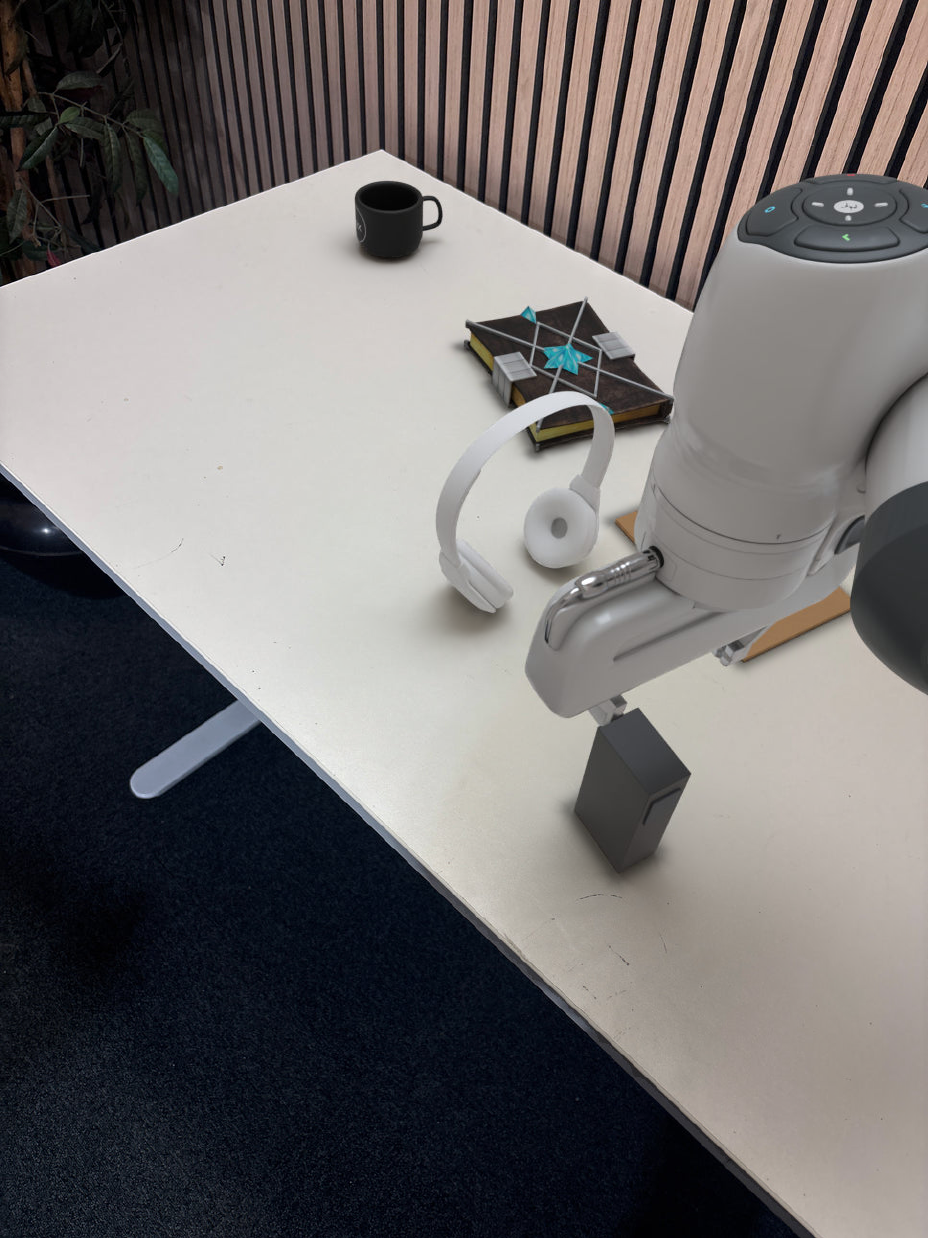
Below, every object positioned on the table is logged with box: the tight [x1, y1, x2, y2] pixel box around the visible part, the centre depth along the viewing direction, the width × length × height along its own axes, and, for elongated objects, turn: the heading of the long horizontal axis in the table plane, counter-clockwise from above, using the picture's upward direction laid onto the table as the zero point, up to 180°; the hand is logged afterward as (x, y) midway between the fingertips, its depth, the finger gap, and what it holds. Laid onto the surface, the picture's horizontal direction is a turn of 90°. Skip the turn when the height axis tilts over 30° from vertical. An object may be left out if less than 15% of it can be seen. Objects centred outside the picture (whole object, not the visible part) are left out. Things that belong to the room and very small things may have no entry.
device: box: [573, 707, 692, 874], centre depth 66 cm, size 6×4×12 cm, turn 29°
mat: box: [614, 509, 851, 662], centre depth 90 cm, size 20×14×1 cm
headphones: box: [435, 391, 616, 614], centre depth 80 cm, size 7×18×20 cm, turn 128°
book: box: [463, 296, 674, 452], centre depth 105 cm, size 22×17×5 cm
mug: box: [354, 180, 444, 258], centre depth 123 cm, size 12×9×7 cm
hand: (666, 683), depth 56 cm, fingers open, 8 cm apart
